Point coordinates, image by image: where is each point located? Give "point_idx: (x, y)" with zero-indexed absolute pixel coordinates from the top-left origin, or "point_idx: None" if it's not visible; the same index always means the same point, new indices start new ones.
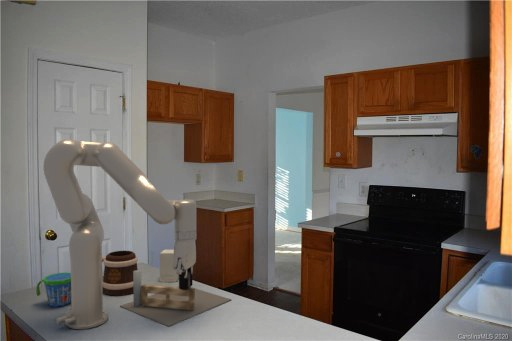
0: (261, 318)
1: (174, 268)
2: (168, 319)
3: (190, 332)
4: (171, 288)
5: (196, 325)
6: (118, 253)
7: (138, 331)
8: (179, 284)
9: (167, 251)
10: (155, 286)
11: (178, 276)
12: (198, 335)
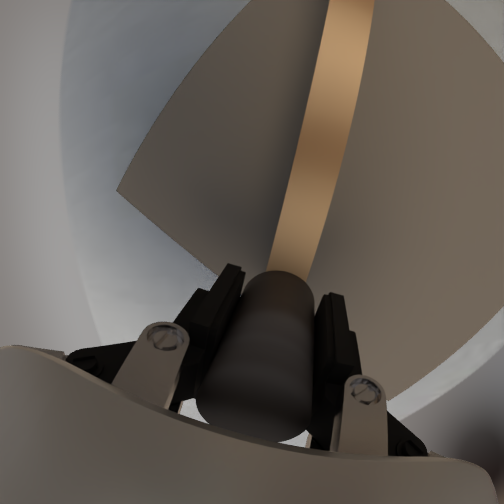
0: None
1: (12, 359)
2: (171, 173)
3: (99, 274)
4: (290, 176)
5: (147, 292)
6: None
7: (85, 90)
8: (217, 283)
9: None
10: (345, 18)
11: (143, 331)
12: (91, 297)
